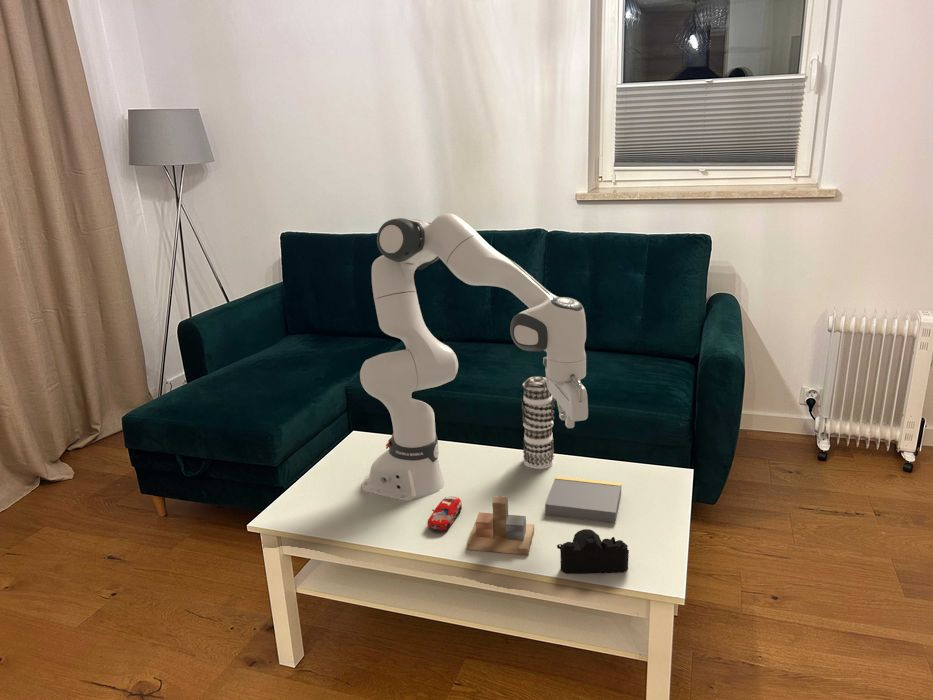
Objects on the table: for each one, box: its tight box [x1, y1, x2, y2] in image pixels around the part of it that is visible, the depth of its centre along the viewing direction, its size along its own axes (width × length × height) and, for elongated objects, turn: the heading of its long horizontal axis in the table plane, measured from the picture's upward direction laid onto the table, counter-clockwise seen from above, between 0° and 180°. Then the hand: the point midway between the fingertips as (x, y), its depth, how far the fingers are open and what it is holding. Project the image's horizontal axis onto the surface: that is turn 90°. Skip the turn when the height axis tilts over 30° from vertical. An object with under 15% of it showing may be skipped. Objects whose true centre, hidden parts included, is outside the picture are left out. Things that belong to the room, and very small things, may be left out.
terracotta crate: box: [475, 511, 494, 538], centre depth 167 cm, size 4×4×4 cm
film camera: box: [556, 528, 630, 575], centre depth 157 cm, size 15×10×9 cm, turn 88°
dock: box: [544, 475, 622, 524], centre depth 181 cm, size 17×14×3 cm
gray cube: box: [506, 514, 527, 541], centre depth 165 cm, size 4×4×4 cm
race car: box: [426, 496, 463, 532], centre depth 176 cm, size 13×5×4 cm, turn 159°
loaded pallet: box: [466, 495, 535, 556], centre depth 166 cm, size 14×10×12 cm
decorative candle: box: [520, 375, 556, 470], centre depth 199 cm, size 9×9×25 cm
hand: (566, 423), depth 170 cm, fingers open, 3 cm apart
